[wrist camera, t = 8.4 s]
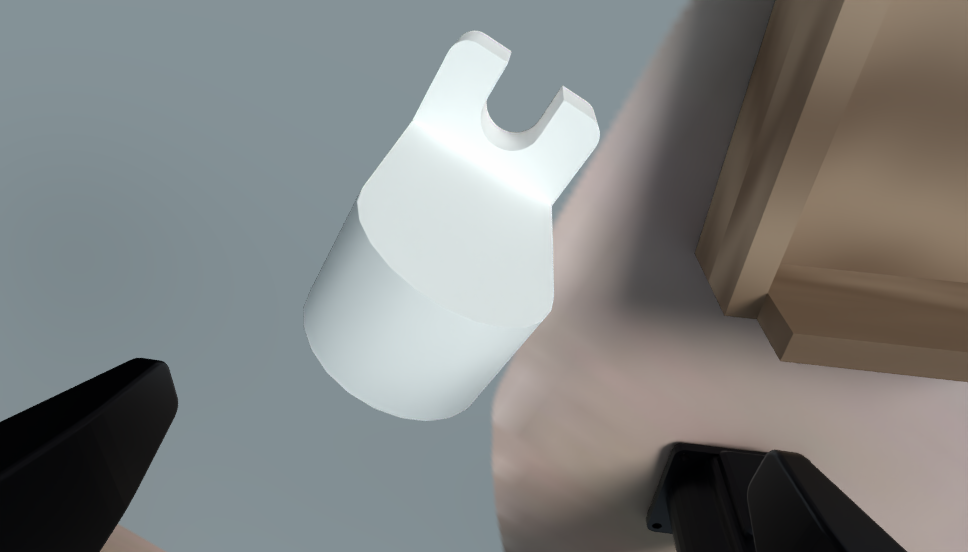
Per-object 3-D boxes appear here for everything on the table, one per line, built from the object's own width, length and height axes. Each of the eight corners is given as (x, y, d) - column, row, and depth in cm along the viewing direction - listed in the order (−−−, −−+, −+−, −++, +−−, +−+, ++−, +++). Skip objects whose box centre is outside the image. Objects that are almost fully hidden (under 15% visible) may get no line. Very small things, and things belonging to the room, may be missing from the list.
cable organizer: (602, 111, 18) (654, 262, 10) (459, 309, 23) (409, 524, 14) (467, 22, 17) (390, 101, 8) (347, 249, 22) (223, 443, 13)
